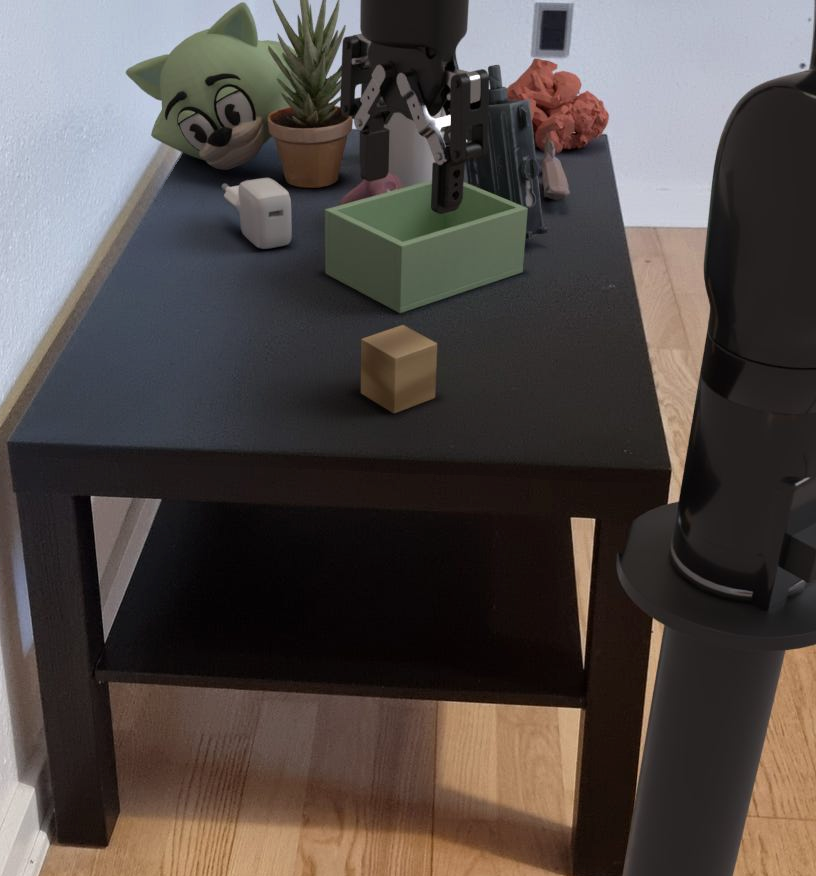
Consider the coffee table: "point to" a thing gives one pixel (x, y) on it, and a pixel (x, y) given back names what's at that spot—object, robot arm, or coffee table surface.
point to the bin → (423, 245)
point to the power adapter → (262, 211)
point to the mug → (409, 151)
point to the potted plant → (310, 102)
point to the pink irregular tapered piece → (372, 188)
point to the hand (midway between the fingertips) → (408, 194)
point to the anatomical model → (559, 107)
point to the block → (398, 368)
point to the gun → (509, 155)
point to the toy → (217, 90)
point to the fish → (553, 174)
